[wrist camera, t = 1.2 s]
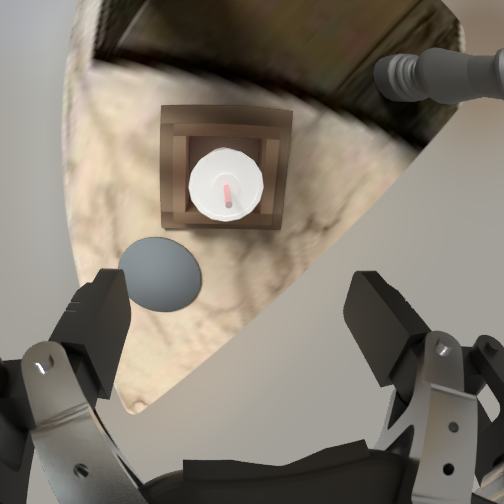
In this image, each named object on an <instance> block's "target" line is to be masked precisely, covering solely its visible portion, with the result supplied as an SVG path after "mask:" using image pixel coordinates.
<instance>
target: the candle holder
mask: <svg viewBox="0 0 504 504" xmlns="http://www.w3.org/2000/svg"><path fill="white" fill-rule="evenodd" d="M373 74H374V81H375V84H376V86H377V88H378V90H379V91H380V92H381V93H382V94H383V95H384V97H386V98H388V99H390V100H392V101H406V102H416V101H418V100H424V99H426V98H428V97H430V98H432V99H433V100H435V101H436V102H438V103H443V104H455V103H459V102H463V101H467V100H471V99H476V98H481V97H488V98H496V99H503V100H504V48H503V49H499V50H498V51H497V53H496V55H494V56H473V55H469V54H464V53H460V52H455V51H450V50H446V49H440V48H431V49H428V50H425V51H424V52H422V54H421V55H420V56H419V57H418V56H417V55H412V54H401V53H400V54H396V55H391V56H387V57H384V58H381V59H379V61H378V62H377V63H376V64H375V68H374V72H373Z"/></svg>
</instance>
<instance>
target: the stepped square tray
mask: <svg viewBox="0 0 504 504" xmlns="http://www.w3.org/2000/svg"><path fill="white" fill-rule="evenodd" d="M292 115H293V111H289V110H280V109H271V108H259V107H246V106H227V105H162V106H161V123H160V202H161V226H162V228H219V229H268V230H280V229H281V220H282V212H283V203H284V194H285V185H286V176H287V166H288V157H289V147H290V137H291V126H292ZM190 136H221V137H245V138H260V144H259V157H258V168H259V170H260V171H261V173H262V179H263V186H264V188H263V191H262V195H261V199H260V201H259V203H258V204H257V205H256V206H255V208H254V209H253V210H252V212H250V213H249V214H247V215H245V216H244V217H242V218H240V219H237V220H232V221H227V222H225V221H219V220H213V219H211V218H209V217H207V216H206V215H204V214H202V213H201V212H200V211H199V210H198V209H197V207H196V206H195V205H194V203H193V202H192V200H189V160H190Z"/></svg>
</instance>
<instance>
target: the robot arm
mask: <svg viewBox="0 0 504 504" xmlns="http://www.w3.org/2000/svg"><path fill="white" fill-rule="evenodd" d="M343 314H344V320H345V322H346V324H347V326H348V328H349V329H350V331H351V333H352V335H353V337H354V339H355V340H356V342H357V344H358V346H359V348H360V349H361V351H362V353H363V355H364V357H365V359H366V360H367V362H368V364H369V366H370V368H371V370H372V372H373V374H374V376H375V378H376V380H377V381H378V383H379V385H380V387H384V386H388V385H392V384H394V386H395V389H394V391H393V393H392V395H391V399H390V403H389V407H388V410H387V414H386V418H385V422H384V425H383V428H382V432H381V435H380V437H379V439H378V441H377V443H376V444H375V446H374V448H373V449H368V447H367V445H366V442H365V440H364V439H363V440H359V441H355V442H351V443H347V444H344V445H339V446H334V447H330V448H326V449H323V450H321V451H319V452H316V453H314V454H312V455H309V456H307V457H305V458H302V459H300V460H298V461H295V462H292V463H290V464H287V465H284V466H272V465H263V464H255V463H248V462H241V461H235V460H183V470H179V471H174V472H170V473H167V474H164V475H161V476H159V477H157V478H154V479H152V480H150V481H149V482H147V483H145V484H144V483H143V481H142V480H141V479H140V477H139V476H138V475H137V473H136V472H135V470H133V468H132V466H131V465H130V464H129V462H128V461H127V460H126V458H125V457H124V455H123V454H122V452H121V451H120V449H119V448H118V446H117V445H116V443H115V441H114V440H113V438H112V437H111V435H110V433H109V431H108V430H107V428H106V426H105V424H104V423H103V421H102V419H101V417H100V415H99V414H98V412H97V410H96V408H95V406H96V401H97V398H102V399H110V396H111V391H112V387H113V383H114V379H115V375H116V372H117V368H118V364H119V360H120V357H121V353H122V350H123V346H124V343H125V339H126V336H127V333H128V329H129V326H130V322H131V306H130V301H129V296H128V291H127V285H126V280H125V274H124V271H123V270H122V269H103V268H102V269H100V270H99V272H98V274H97V275H96V277H95V279H94V280H93V282H92V283H86V284H85V285H84V286H82V287H81V288H80V289H78V290H77V291H76V293H75V295H74V296H73V298H72V299H71V303H69V305H68V307H67V308H66V312H64V313H63V315H62V317H61V319H60V320H59V322H58V324H57V325H56V327H55V329H54V331H53V333H52V335H51V337H50V338H49V340H48V341H43V342H40V343H37V344H35V345H33V346H32V347H30V348H29V349H28V350H27V351H26V352H25V354H24V355H23V357H22V359H18V360H8V361H2V359H1V358H0V504H26V500H27V491H28V483H29V476H30V470H31V464H32V459H33V454H34V448H35V449H36V452H37V455H38V457H39V460H40V462H41V465H42V467H43V470H44V472H45V474H46V477H47V479H48V481H49V483H50V486H51V488H52V490H53V492H54V494H55V496H56V498H57V500H58V502H59V504H504V347H503V346H502V345H501V344H500V342H499V341H497V340H496V339H495V338H493V337H491V336H488V335H481V336H479V337H478V339H477V340H476V342H475V344H474V345H473V347H462V346H460V344H459V342H458V341H457V340H456V339H455V338H454V337H453V336H451V335H449V334H447V333H445V332H442V331H431V330H430V328H429V327H428V326H427V325H426V324H425V322H424V321H423V320H422V319H421V317H420V316H419V315H418V314H417V313H416V311H415V310H414V309H413V308H411V305H410V304H409V303H408V302H407V301H405V298H404V297H403V296H402V295H401V294H400V293H399V291H398V290H396V289H394V288H393V287H392V286H390V285H389V284H387V283H386V282H385V280H384V279H383V278H382V277H381V276H380V275H379V273H377V271H356V272H355V273H354V275H353V277H352V281H351V284H350V288H349V291H348V294H347V298H346V301H345V305H344V310H343ZM486 384H488V386H489V387H490V389H491V391H492V392H493V394H494V395H495V397H496V399H497V400H498V402H499V404H500V413H499V415H498V417H497V418H496V419H495V420H494V421H493V422H491V421H490V419H489V417H488V415H487V413H486V412H485V410H484V408H483V406H482V405H481V403H480V401H479V400H478V398H477V395H478V394H479V393H480V391H481V390H482V389H483V388H484V387H485V385H486ZM474 473H475V476H476V478H477V480H478V483H479V485H480V488H479V489H477V490H476V491H475V492H474V493H473V492H472V488H473V481H474Z"/></svg>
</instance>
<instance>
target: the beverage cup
mask: <svg viewBox="0 0 504 504" xmlns="http://www.w3.org/2000/svg"><path fill="white" fill-rule="evenodd" d="M263 188H264V186H263V179H262V173H261V171H260V170H259V168H258V166H257V165H256V163H255V162H254V160H252V159H251V158H250V157H248V156H247V155H245V154H244V153H242V152H240V151H236V150H233V149H230V148H225V147H223V148H218V149H215V150H213V151H212V152H210V153H209V154H208V155H206V156H205V157H203V158H202V159H200V160H199V162H198V163H197V165H196V166H195V168H194V169H193V171H192V172H191V176H190V182H189V191H190V196H191V200H192V202H193V203H194V205H195V206H196V207H197V209H198V210H199V211H200V212H201V213H202V214H204V215H206V216H207V217H209V218H211V219H213V220H219V221H225V222H227V221H232V220H237V219H240V218H242V217H244V216H245V215H247V214H249V213H250V212H252V210H253V209H254V208H255V206H256V205H257V204H258V203H259V201H260V199H261V195H262V191H263Z"/></svg>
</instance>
